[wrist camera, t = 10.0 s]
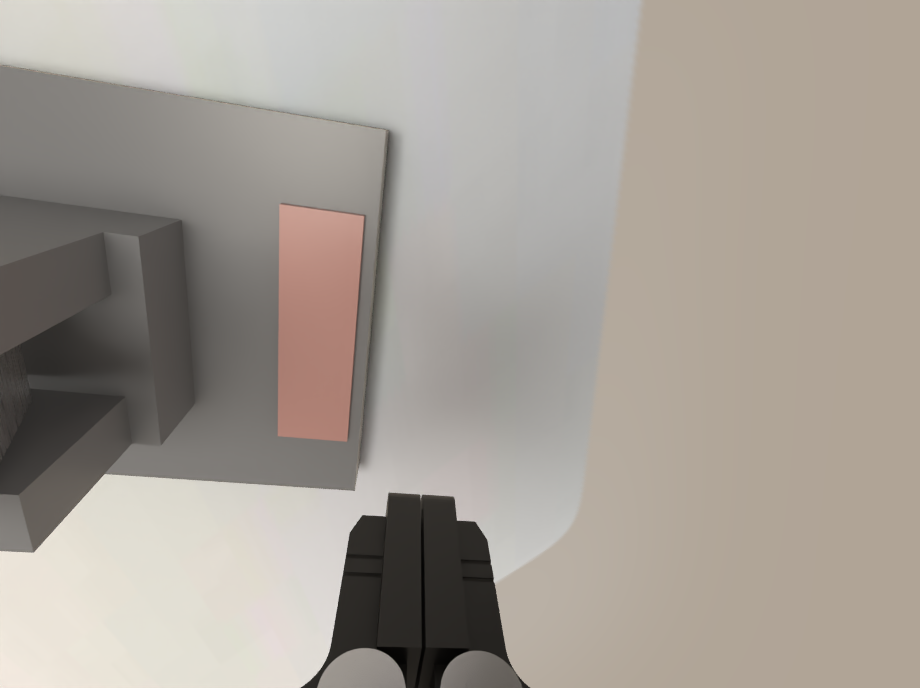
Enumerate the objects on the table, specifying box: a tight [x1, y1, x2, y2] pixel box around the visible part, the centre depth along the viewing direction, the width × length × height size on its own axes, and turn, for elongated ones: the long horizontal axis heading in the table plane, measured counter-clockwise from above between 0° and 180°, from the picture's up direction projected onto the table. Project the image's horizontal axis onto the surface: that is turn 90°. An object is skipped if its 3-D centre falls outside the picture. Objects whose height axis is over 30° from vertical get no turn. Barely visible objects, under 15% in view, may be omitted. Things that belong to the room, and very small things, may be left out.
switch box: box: [0, 65, 389, 552], centre depth 16 cm, size 16×22×10 cm
